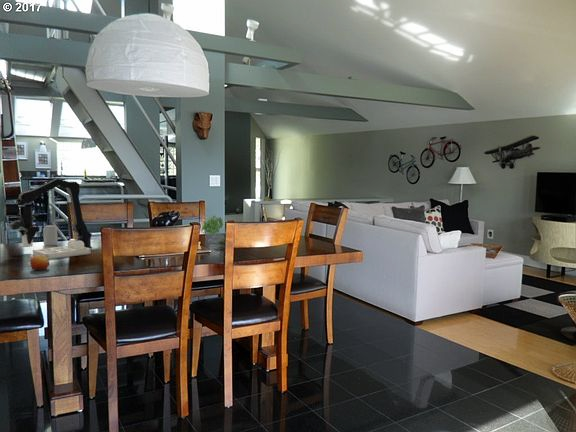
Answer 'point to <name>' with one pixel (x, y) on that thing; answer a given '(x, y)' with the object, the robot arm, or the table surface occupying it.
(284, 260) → the table surface
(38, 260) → the fruit
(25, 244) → the egg
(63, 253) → the carton
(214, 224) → the plant cuttings
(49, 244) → the can
